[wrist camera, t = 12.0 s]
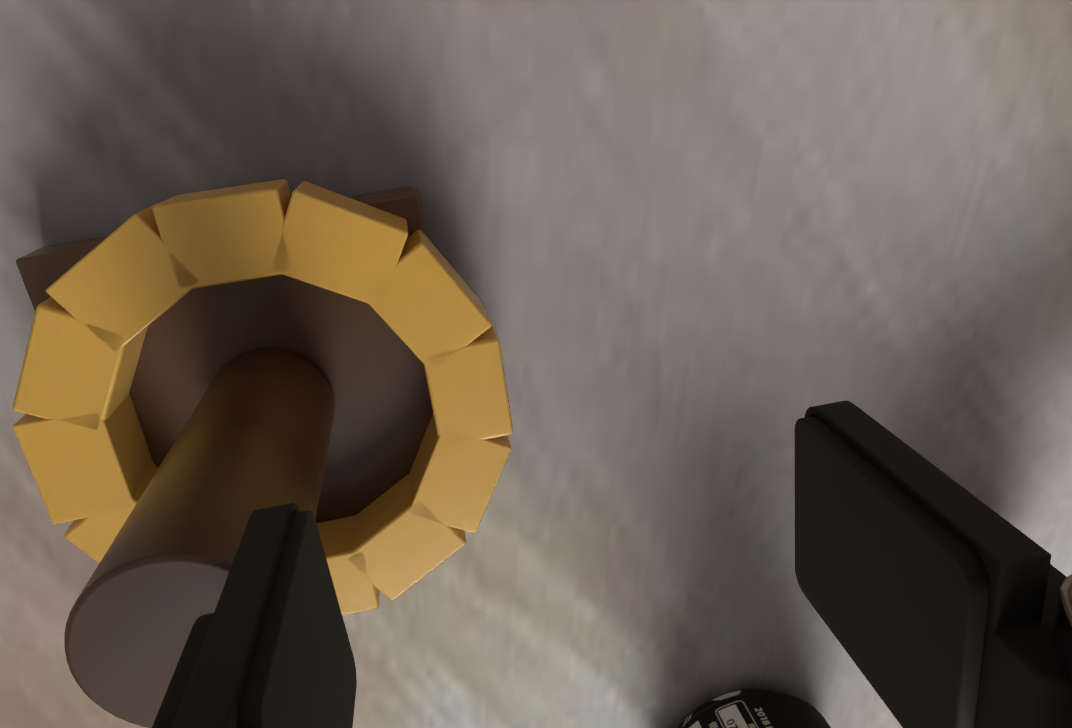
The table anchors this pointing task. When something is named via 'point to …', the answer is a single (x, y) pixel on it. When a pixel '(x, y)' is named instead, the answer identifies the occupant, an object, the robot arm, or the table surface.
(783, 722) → the beverage can
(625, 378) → the table surface
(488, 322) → the ring
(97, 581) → the stand
